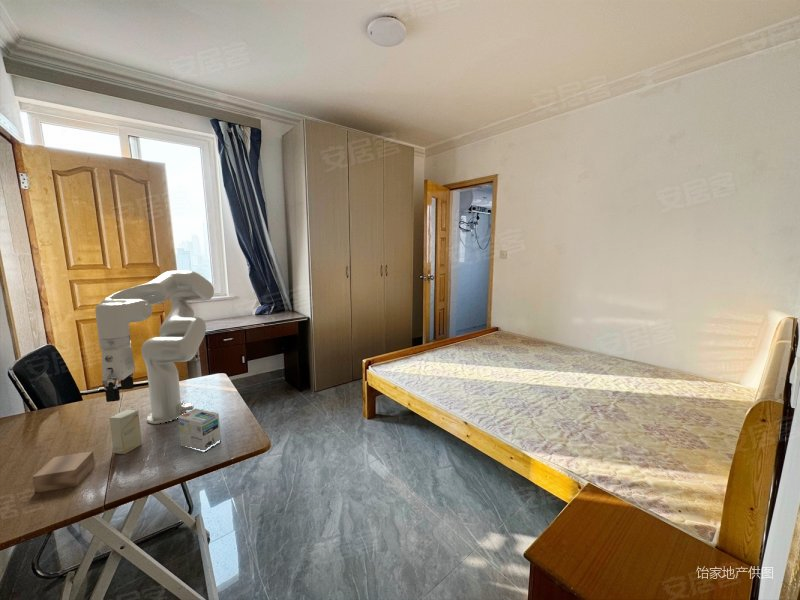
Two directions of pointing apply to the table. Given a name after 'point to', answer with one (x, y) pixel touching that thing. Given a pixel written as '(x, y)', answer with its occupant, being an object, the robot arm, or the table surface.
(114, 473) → the table surface
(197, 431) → the light bulb box
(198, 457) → the table surface
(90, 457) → the tan flat block
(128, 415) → the skincare box
